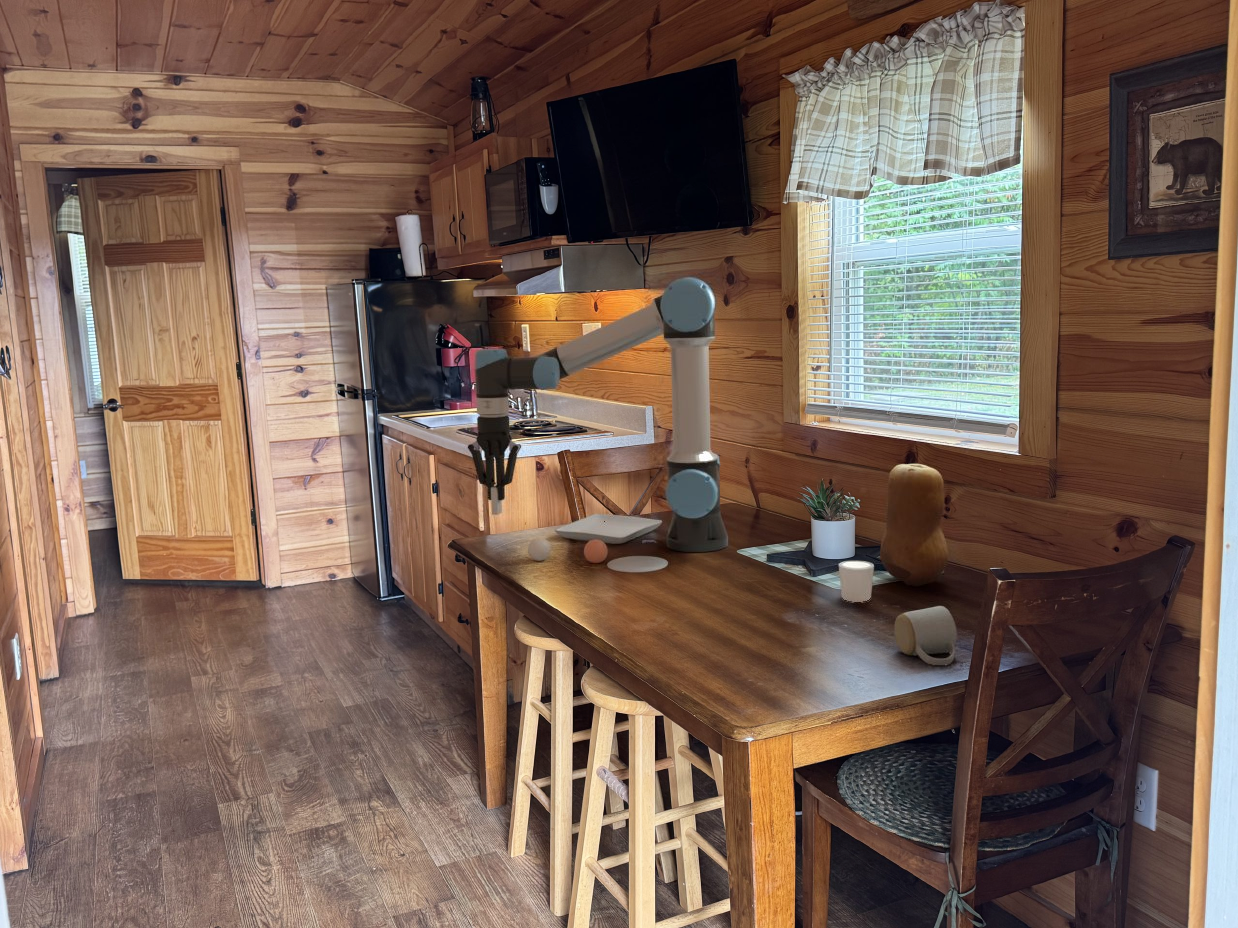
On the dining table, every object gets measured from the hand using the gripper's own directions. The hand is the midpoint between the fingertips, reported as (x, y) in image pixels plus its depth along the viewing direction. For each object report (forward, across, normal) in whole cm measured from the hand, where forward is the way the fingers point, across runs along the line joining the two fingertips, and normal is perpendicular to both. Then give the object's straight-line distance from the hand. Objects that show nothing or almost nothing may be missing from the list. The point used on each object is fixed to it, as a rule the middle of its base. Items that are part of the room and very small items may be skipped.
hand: (496, 513), depth 238 cm
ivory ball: (+8, +10, 0) cm, 13 cm away
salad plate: (+12, +20, +28) cm, 36 cm away
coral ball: (+8, +24, 0) cm, 26 cm away
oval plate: (+11, +34, 0) cm, 36 cm away
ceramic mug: (+10, +98, -50) cm, 110 cm away
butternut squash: (+10, +96, -6) cm, 96 cm away
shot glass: (+10, +84, -19) cm, 87 cm away
